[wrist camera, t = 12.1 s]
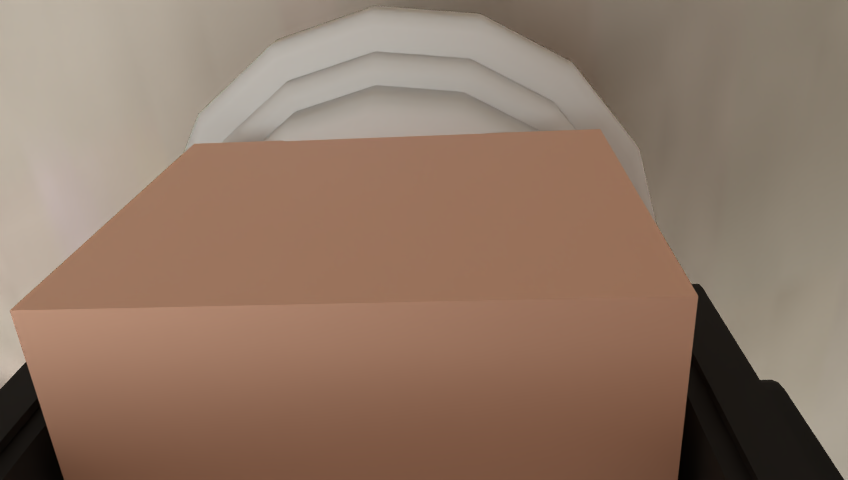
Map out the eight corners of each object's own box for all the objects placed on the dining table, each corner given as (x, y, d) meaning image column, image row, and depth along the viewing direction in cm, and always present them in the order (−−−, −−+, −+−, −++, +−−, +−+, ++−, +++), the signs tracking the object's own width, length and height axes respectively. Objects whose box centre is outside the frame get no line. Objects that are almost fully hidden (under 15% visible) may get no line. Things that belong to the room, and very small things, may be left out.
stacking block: (600, 129, 11) (697, 296, 6) (585, 457, 13) (647, 747, 9) (194, 143, 11) (9, 310, 7) (252, 460, 14) (146, 739, 9)
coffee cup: (252, -17, 22) (45, 67, 11) (570, -59, 21) (693, -15, 10) (312, 264, 25) (201, 539, 14) (584, 237, 25) (684, 508, 14)
